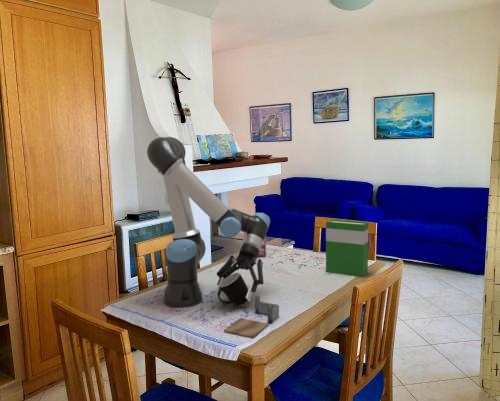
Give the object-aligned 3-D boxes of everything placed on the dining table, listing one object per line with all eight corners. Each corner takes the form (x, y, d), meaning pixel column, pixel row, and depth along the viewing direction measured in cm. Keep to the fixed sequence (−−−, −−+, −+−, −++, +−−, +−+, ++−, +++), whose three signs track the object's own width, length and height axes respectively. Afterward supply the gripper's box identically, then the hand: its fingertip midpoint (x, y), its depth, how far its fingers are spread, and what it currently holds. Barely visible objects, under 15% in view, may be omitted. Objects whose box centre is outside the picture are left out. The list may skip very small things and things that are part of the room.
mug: (253, 290, 173) (239, 269, 171) (253, 300, 164) (239, 278, 162) (226, 305, 174) (213, 284, 172) (225, 315, 165) (211, 294, 163)
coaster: (224, 331, 147) (223, 330, 147) (240, 319, 156) (240, 317, 156) (253, 338, 142) (253, 336, 141) (268, 325, 151) (268, 323, 151)
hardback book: (325, 271, 209) (326, 221, 205) (331, 267, 215) (331, 219, 211) (363, 277, 200) (363, 224, 196) (367, 272, 206) (368, 221, 203)
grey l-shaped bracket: (246, 318, 157) (246, 302, 156) (256, 310, 164) (256, 295, 163) (271, 323, 152) (271, 307, 151) (280, 315, 159) (280, 299, 158)
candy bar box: (266, 255, 240) (266, 225, 238) (265, 257, 235) (264, 227, 233) (246, 254, 242) (245, 225, 240) (244, 257, 237) (243, 226, 235)
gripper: (281, 256, 174) (265, 306, 163) (228, 249, 186) (209, 296, 175) (276, 246, 169) (258, 297, 158) (221, 239, 180) (201, 287, 169)
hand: (232, 296), depth 166 cm, fingers open, 12 cm apart
